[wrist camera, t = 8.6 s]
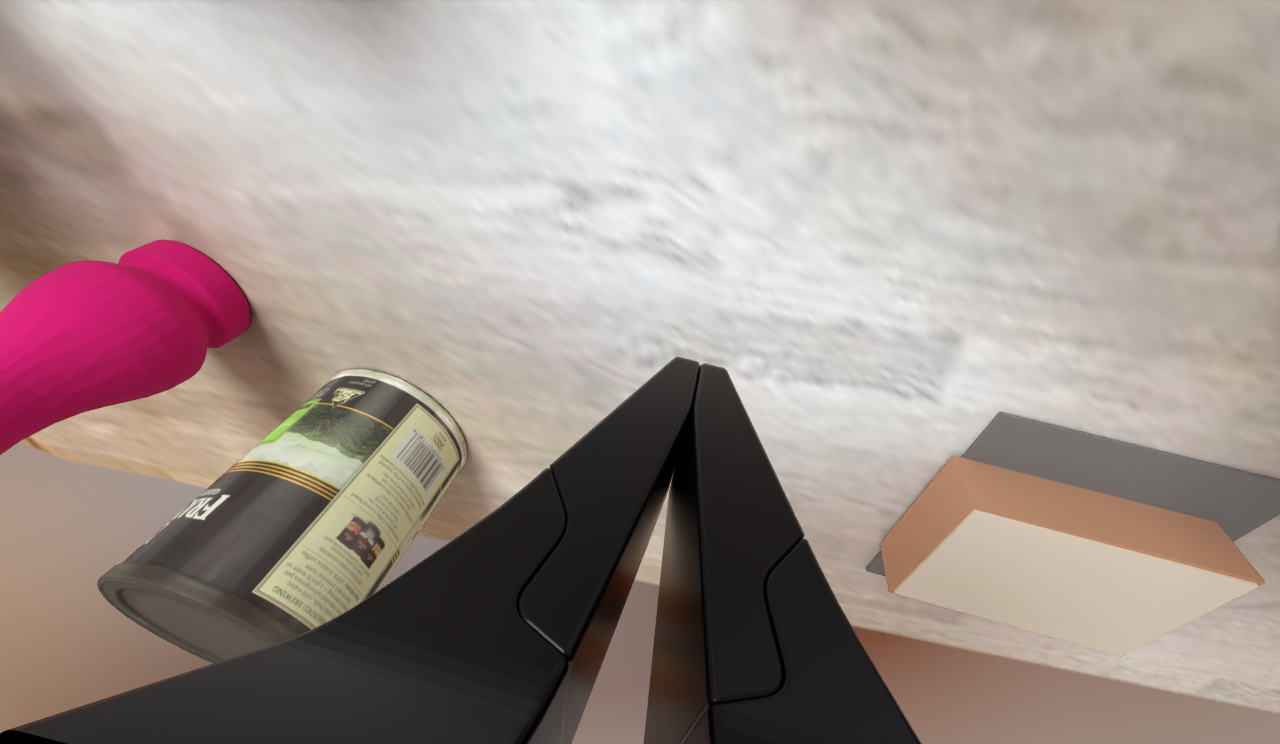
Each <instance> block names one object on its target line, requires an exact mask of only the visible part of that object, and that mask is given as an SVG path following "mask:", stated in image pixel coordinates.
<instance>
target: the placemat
mask: <svg viewBox="0 0 1280 744" xmlns="http://www.w3.org/2000/svg"><path fill="white" fill-rule="evenodd" d="M961 458H965V459H969V460H973V461H977V462H981V463H985V464H989V465H993V466H997V467H1001V468H1005V469H1009V470H1013V471H1017V472H1021V473H1025V474H1028V475H1032V476H1036V477H1040V478H1044V479H1048V480H1052V481H1056V482H1060V483H1064V484H1068V485H1072V486H1076V487H1080V488H1084V489H1088V490H1092V491H1096V492H1099V493H1103V494H1107V495H1111V496H1115V497H1119V498H1123V499H1127V500H1131V501H1135V502H1139V503H1143V504H1147V505H1151V506H1155V507H1159V508H1163V509H1167V510H1170V511H1174V512H1178V513H1182V514H1186V515H1190V516H1194V517H1198V518H1202V519H1206V520H1210V521H1214V522H1217V523H1218V524H1219V526H1220V527H1221V528H1222V529H1223V531H1224V532H1225V533H1226V534H1227V535H1228V537H1229V538H1230V539H1231V540H1232V542H1233V541H1235V540H1237V539H1238V538H1240V537H1242V536H1244V535H1245V534H1247V533H1249V532H1250V531H1252V530H1254V529H1255V528H1257V527H1259V526H1260V525H1262V524H1264V523H1266V522H1267V521H1269V520H1271V519H1272V518H1274V517H1276V516H1277V515H1279V514H1280V480H1277V479H1273V478H1269V477H1265V476H1261V475H1257V474H1253V473H1249V472H1244V471H1240V470H1236V469H1232V468H1228V467H1224V466H1220V465H1216V464H1212V463H1208V462H1204V461H1199V460H1195V459H1191V458H1187V457H1183V456H1179V455H1175V454H1171V453H1167V452H1163V451H1158V450H1154V449H1150V448H1146V447H1142V446H1138V445H1134V444H1130V443H1126V442H1122V441H1117V440H1113V439H1109V438H1105V437H1101V436H1097V435H1093V434H1089V433H1085V432H1081V431H1076V430H1072V429H1068V428H1064V427H1060V426H1056V425H1052V424H1048V423H1044V422H1040V421H1036V420H1031V419H1027V418H1023V417H1019V416H1015V415H1011V414H1007V413H1003V412H999V413H998V415H997V416H996V417H995V418H994V419H993V420H992V422H991V423H990V424H989V425H988V426H987V427H986V429H985V430H984V431H983V432H982V433H981V434H980V436H979V437H978V438H977V439H976V440H975V441H974V443H973V444H972V445H971V446H970V447H969V448H968V450H967V451H966V452H965V453H964V454H963V455H962V457H961ZM866 571H868V572H872V573H876V574H879V575H883V576H886V575H885V569H884V563H883V558H882V552H881V551H880V552H879V554H878V555H877V556H876V557H875V558H874V559H873V561H872V562H871V563H870V564H869V565H868V566H867V568H866Z"/></svg>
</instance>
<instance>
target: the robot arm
mask: <svg viewBox="0 0 1280 744" xmlns="http://www.w3.org/2000/svg"><path fill="white" fill-rule="evenodd" d="M672 475H673V476H672ZM671 479H672V481H671ZM670 482H671V486H670ZM669 486H670V491H669V499H668V508H667V518H666V527H665V537H664V547H663V557H662V567H661V577H660V587H659V597H658V607H657V617H656V627H655V637H654V647H653V657H652V666H651V667H652V668H651V676H650V686H649V696H648V707H647V716H646V726H645V736H644V744H921V742H920V741H919V739H918V737H917V735H916V734H915V732H914V730H913V729H912V727H911V725H910V724H909V722H908V721H907V719H906V717H905V716H904V714H903V712H902V710H901V709H900V707H899V705H898V704H897V702H896V700H895V699H894V697H893V695H892V694H891V692H890V690H889V689H888V687H887V686H886V684H885V682H884V680H883V679H882V677H881V676H880V674H879V672H878V670H877V669H876V667H875V666H874V664H873V662H872V661H871V659H870V657H869V656H868V654H867V652H866V651H865V649H864V647H863V646H862V644H861V642H860V640H859V638H858V637H857V635H856V633H855V631H854V630H853V628H852V626H851V624H850V623H849V621H848V619H847V617H846V616H845V614H844V612H843V610H842V609H841V607H840V605H839V603H838V601H837V599H836V597H835V595H834V593H833V591H832V590H831V588H830V586H829V584H828V582H827V580H826V578H825V576H824V574H823V572H822V570H821V568H820V566H819V564H818V562H817V560H816V558H815V555H814V553H813V551H812V549H811V547H810V545H809V543H808V541H807V540H806V539H803V538H804V532H803V530H802V528H801V526H800V524H799V522H798V520H797V518H796V516H795V513H794V511H793V509H792V507H791V505H790V503H789V501H788V499H787V497H786V494H785V492H784V490H783V488H782V486H781V484H780V482H779V480H778V478H777V475H776V473H775V471H774V469H773V467H772V465H771V463H770V461H769V459H768V456H767V454H766V452H765V450H764V448H763V446H762V444H761V442H760V440H759V437H758V435H757V433H756V431H755V429H754V427H753V425H752V423H751V421H750V418H749V416H748V414H747V412H746V410H745V408H744V406H743V404H742V402H741V399H740V397H739V395H738V393H737V391H736V389H735V387H734V385H733V383H732V380H731V378H730V376H729V374H728V372H727V370H726V369H725V368H722V367H718V366H714V365H710V364H705V363H704V364H702V365H701V366H700V364H699V363H698V362H697V361H693V360H689V359H685V358H681V357H675V358H674V359H673V360H671V361H670V362H669V363H668V364H667V365H666V366H664V367H663V368H662V369H661V370H660V371H659V372H658V373H656V374H655V375H654V376H653V377H652V378H651V379H649V380H648V381H647V382H646V383H645V384H644V385H642V386H641V387H640V388H639V389H638V390H637V391H636V392H634V393H633V394H632V395H631V396H630V397H629V398H627V399H626V400H625V401H624V402H623V403H622V404H620V405H619V406H618V407H617V408H616V409H615V410H614V411H612V412H611V413H610V414H609V415H608V416H607V417H605V418H604V419H603V420H602V421H601V422H600V423H598V424H597V425H596V426H595V427H594V428H593V429H592V430H590V431H589V432H588V433H587V434H586V435H585V436H583V437H582V438H581V439H580V440H579V441H578V442H576V443H575V444H574V445H573V446H572V447H571V448H570V449H568V450H567V451H566V452H565V453H564V454H563V455H561V456H560V457H559V458H558V459H557V460H556V461H554V462H553V463H552V464H551V465H550V469H549V468H546V469H545V470H544V471H543V472H541V473H540V474H539V475H538V476H537V477H536V478H534V479H533V480H532V481H531V482H530V483H529V484H528V485H526V486H525V487H524V488H523V489H521V490H520V491H519V492H518V493H516V494H515V495H514V496H513V497H511V498H510V499H509V500H508V501H507V502H505V503H504V504H503V505H502V506H500V507H499V508H498V509H496V510H495V511H494V512H492V513H491V514H489V515H488V516H487V517H485V518H484V519H482V520H481V521H480V522H478V523H477V524H475V525H474V526H473V527H471V528H470V529H468V530H467V531H466V532H464V533H463V534H461V535H460V536H458V537H457V538H455V539H454V540H452V541H451V542H449V543H448V544H446V545H445V546H444V547H442V548H441V549H439V550H438V551H436V552H435V553H433V554H432V555H430V556H429V557H427V558H426V559H424V560H423V561H422V562H420V563H418V564H417V565H416V566H414V567H413V568H411V569H410V570H408V571H407V572H405V573H404V574H402V575H401V576H399V577H398V578H396V579H395V580H394V581H392V582H390V583H389V584H387V585H386V586H385V587H383V588H382V589H380V590H379V591H377V592H376V593H374V594H373V595H371V596H370V597H368V598H367V599H365V600H364V601H362V602H361V603H359V604H358V605H356V606H355V607H353V608H351V609H350V610H348V611H346V612H344V613H343V614H341V615H339V616H337V617H335V618H334V619H332V620H330V621H328V622H326V623H324V624H322V625H320V626H318V627H316V628H314V629H312V630H309V631H307V632H305V633H302V634H300V635H298V636H295V637H293V638H290V639H288V640H285V641H282V642H279V643H276V644H273V645H270V646H267V647H264V648H261V649H258V650H254V651H251V652H248V653H245V654H242V655H239V656H236V657H233V658H230V659H227V660H223V661H220V662H217V663H214V664H211V665H208V666H205V667H202V668H199V669H196V670H192V671H189V672H186V673H183V674H180V675H177V676H174V677H171V678H168V679H165V680H162V681H158V682H155V683H152V684H149V685H146V686H143V687H140V688H137V689H134V690H130V691H127V692H124V693H121V694H118V695H115V696H112V697H109V698H106V699H102V700H99V701H96V702H93V703H90V704H87V705H84V706H81V707H78V708H75V709H71V710H69V711H66V712H62V713H59V714H56V715H53V716H50V717H47V718H44V719H40V720H38V721H34V722H31V723H28V724H25V725H22V726H19V727H16V728H13V729H10V730H6V731H4V732H2V733H1V734H0V744H572V741H573V738H574V736H575V733H576V731H577V728H578V725H579V723H580V720H581V718H582V715H583V712H584V710H585V707H586V705H587V702H588V699H589V697H590V694H591V691H592V689H593V686H594V684H595V681H596V678H597V676H598V673H599V671H600V668H601V665H602V663H603V660H604V657H605V655H606V652H607V650H608V647H609V644H610V642H611V639H612V637H613V634H614V631H615V629H616V626H617V623H618V621H619V618H620V615H621V613H622V610H623V608H624V605H625V603H626V600H627V597H628V595H629V592H630V590H631V587H632V584H633V582H634V579H635V577H636V574H637V571H638V569H639V566H640V563H641V561H642V558H643V556H644V553H645V550H646V548H647V545H648V543H649V540H650V537H651V535H652V532H653V530H654V527H655V524H656V522H657V519H658V516H659V514H660V511H661V509H662V506H663V503H664V501H665V498H666V495H667V492H668V489H669Z"/></svg>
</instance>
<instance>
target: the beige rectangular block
mask: <svg viewBox="0 0 1280 744" xmlns="http://www.w3.org/2000/svg"><path fill="white" fill-rule="evenodd" d="M880 547H881V552H882V558H883V563H884V569H885V575H886V580H887V586H888V591H889V592H892V593H895V594H899V595H902V596H906V597H909V598H913V599H916V600H920V601H924V602H927V603H931V604H934V605H938V606H941V607H945V608H949V609H952V610H956V611H959V612H963V613H966V614H970V615H973V616H977V617H981V618H984V619H988V620H991V621H995V622H998V623H1002V624H1006V625H1009V626H1013V627H1016V628H1020V629H1023V630H1027V631H1031V632H1034V633H1038V634H1041V635H1045V636H1048V637H1052V638H1055V639H1059V640H1063V641H1066V642H1070V643H1073V644H1077V645H1080V646H1084V647H1088V648H1091V649H1095V650H1098V651H1102V652H1105V653H1109V654H1112V655H1116V656H1120V657H1121V656H1123V655H1125V654H1127V653H1129V652H1131V651H1133V650H1135V649H1137V648H1139V647H1141V646H1143V645H1145V644H1147V643H1149V642H1151V641H1153V640H1155V639H1157V638H1159V637H1161V636H1162V635H1164V634H1166V633H1168V632H1170V631H1172V630H1174V629H1176V628H1178V627H1180V626H1182V625H1184V624H1186V623H1188V622H1190V621H1192V620H1194V619H1196V618H1198V617H1200V616H1202V615H1204V614H1206V613H1208V612H1210V611H1212V610H1214V609H1216V608H1218V607H1220V606H1222V605H1224V604H1226V603H1228V602H1230V601H1232V600H1234V599H1236V598H1237V597H1239V596H1241V595H1243V594H1245V593H1247V592H1249V591H1251V590H1253V589H1255V588H1257V587H1259V586H1260V585H1262V584H1264V583H1266V582H1265V581H1264V580H1263V578H1262V577H1261V576H1260V575H1259V573H1258V572H1257V571H1256V570H1255V569H1254V567H1253V566H1252V565H1251V564H1250V562H1249V561H1248V560H1247V559H1246V558H1245V556H1244V555H1243V554H1242V553H1241V551H1240V550H1239V549H1238V548H1237V547H1236V545H1235V544H1234V543H1233V542H1232V540H1231V539H1230V538H1229V537H1228V535H1227V534H1226V533H1225V532H1224V531H1223V529H1222V528H1221V527H1220V526H1219V524H1218V523H1217V522H1214V521H1210V520H1206V519H1202V518H1198V517H1194V516H1190V515H1186V514H1182V513H1178V512H1174V511H1170V510H1167V509H1163V508H1159V507H1155V506H1151V505H1147V504H1143V503H1139V502H1135V501H1131V500H1127V499H1123V498H1119V497H1115V496H1111V495H1107V494H1103V493H1099V492H1096V491H1092V490H1088V489H1084V488H1080V487H1076V486H1072V485H1068V484H1064V483H1060V482H1056V481H1052V480H1048V479H1044V478H1040V477H1036V476H1032V475H1028V474H1025V473H1021V472H1017V471H1013V470H1009V469H1005V468H1001V467H997V466H993V465H989V464H985V463H981V462H977V461H973V460H969V459H965V458H961V457H957V456H954V455H953V457H952V458H951V459H950V460H949V461H948V463H947V464H946V465H945V466H944V467H943V469H942V470H941V471H940V472H939V473H938V475H937V476H936V477H935V478H934V479H933V481H932V482H931V483H930V484H929V485H928V486H927V488H926V489H925V490H924V491H923V492H922V494H921V495H920V496H919V497H918V498H917V500H916V501H915V502H914V503H913V504H912V506H911V507H910V508H909V509H908V510H907V512H906V513H905V514H904V515H903V516H902V518H901V519H900V520H899V521H898V522H897V523H896V525H895V526H894V527H893V528H892V529H891V531H890V532H889V533H888V534H887V535H886V537H885V538H884V539H883V540H882V541H881V543H880Z"/></svg>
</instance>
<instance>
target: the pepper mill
mask: <svg viewBox="0 0 1280 744" xmlns="http://www.w3.org/2000/svg"><path fill="white" fill-rule="evenodd" d="M250 319H251V312H250V309H249V305H248V302H247V300H246V299H245V297H244V295H243V293H242V292H241V290H240V288H239V287H238V286H237V285H236V283H235V282H234V281H233V279H232V278H231V277H230V276H229V275H228V274H227V273H226V272H225V271H224V270H223V269H222V268H221V267H220V266H219V265H218V264H216V263H215V262H214V261H213V260H211V259H210V258H209V257H207V256H206V255H204V254H203V253H201V252H200V251H198V250H196V249H194V248H192V247H190V246H188V245H186V244H183V243H179V242H176V241H170V240H157V241H153V242H151V243H148V244H146V245H144V246H141V247H139V248H136V249H134V250H131V251H129V252H126V253H125V254H123V255H122V256H121V258H120V260H119V264H114V263H109V262H102V261H76V262H72V263H68V264H65V265H63V266H61V267H59V268H57V269H55V270H53V271H51V272H48V273H46V274H44V275H42V276H41V277H39V278H37V279H36V280H35V281H33V282H32V283H31V284H29V285H28V286H27V287H26V288H24V289H23V290H22V291H20V292H19V293H18V294H17V295H16V296H15V297H14V298H13V299H12V301H11V302H10V303H9V304H8V305H7V306H6V307H5V308H4V309H3V310H2V312H1V313H0V455H1V454H2V453H4V452H5V451H7V450H8V449H10V448H11V447H12V446H14V445H15V444H17V443H18V442H20V441H21V440H23V439H25V438H27V437H29V436H31V435H33V434H35V433H37V432H39V431H40V430H42V429H44V428H46V427H48V426H50V425H52V424H54V423H56V422H59V421H62V420H64V419H67V418H69V417H72V416H75V415H77V414H80V413H82V412H86V411H90V410H94V409H98V408H102V407H106V406H110V405H115V404H119V403H124V402H128V401H132V400H137V399H141V398H145V397H149V396H152V395H155V394H157V393H160V392H163V391H166V390H169V389H171V388H173V387H175V386H177V385H178V384H180V383H182V382H184V381H186V380H188V379H189V378H191V377H192V376H194V375H195V374H196V373H197V372H198V371H199V370H200V368H201V367H202V365H203V363H204V360H205V357H206V351H207V348H218V347H221V346H223V345H224V344H226V343H228V342H229V341H231V340H232V339H234V338H235V337H237V336H238V335H240V334H242V333H243V332H244V331H245V330H246V329H247V328H248V327H249V325H250Z"/></svg>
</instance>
